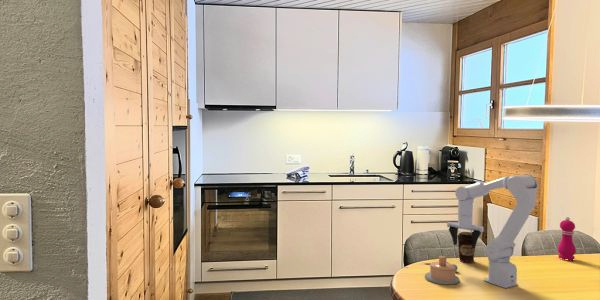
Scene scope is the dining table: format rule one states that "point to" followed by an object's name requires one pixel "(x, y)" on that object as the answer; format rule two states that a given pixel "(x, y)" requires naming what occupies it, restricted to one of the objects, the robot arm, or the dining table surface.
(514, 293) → the dining table surface
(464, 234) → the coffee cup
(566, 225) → the pepper mill
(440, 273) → the lid with knob
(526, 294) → the dining table surface
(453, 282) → the slate plate
